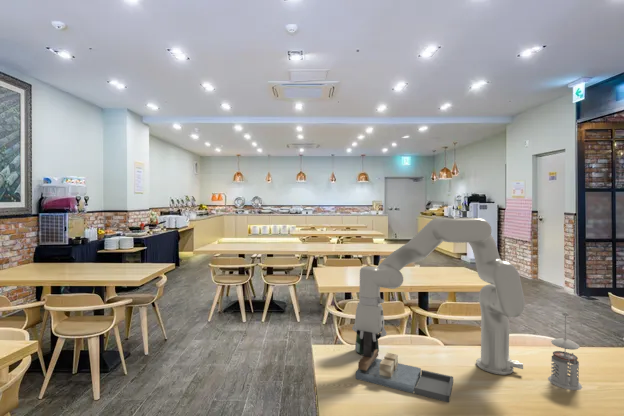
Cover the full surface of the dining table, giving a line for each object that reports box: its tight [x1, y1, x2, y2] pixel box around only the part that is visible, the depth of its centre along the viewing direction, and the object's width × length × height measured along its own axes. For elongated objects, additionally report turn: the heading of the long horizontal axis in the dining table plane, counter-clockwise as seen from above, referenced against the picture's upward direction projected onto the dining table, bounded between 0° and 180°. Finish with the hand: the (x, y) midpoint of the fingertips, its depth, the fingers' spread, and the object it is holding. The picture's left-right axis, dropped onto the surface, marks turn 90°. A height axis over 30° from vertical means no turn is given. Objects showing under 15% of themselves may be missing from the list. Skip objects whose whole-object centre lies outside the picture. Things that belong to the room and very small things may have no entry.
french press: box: [547, 311, 583, 391], centre depth 120 cm, size 10×12×25 cm
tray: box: [413, 369, 454, 403], centre depth 116 cm, size 11×14×2 cm
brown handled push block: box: [357, 331, 379, 371], centre depth 127 cm, size 3×14×12 cm, turn 153°
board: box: [355, 358, 422, 394], centre depth 124 cm, size 20×14×2 cm
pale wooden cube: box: [380, 358, 394, 377], centre depth 121 cm, size 4×4×4 cm
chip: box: [383, 352, 399, 370], centre depth 126 cm, size 4×4×4 cm
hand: (368, 349), depth 127 cm, fingers closed on brown handled push block, 3 cm apart
